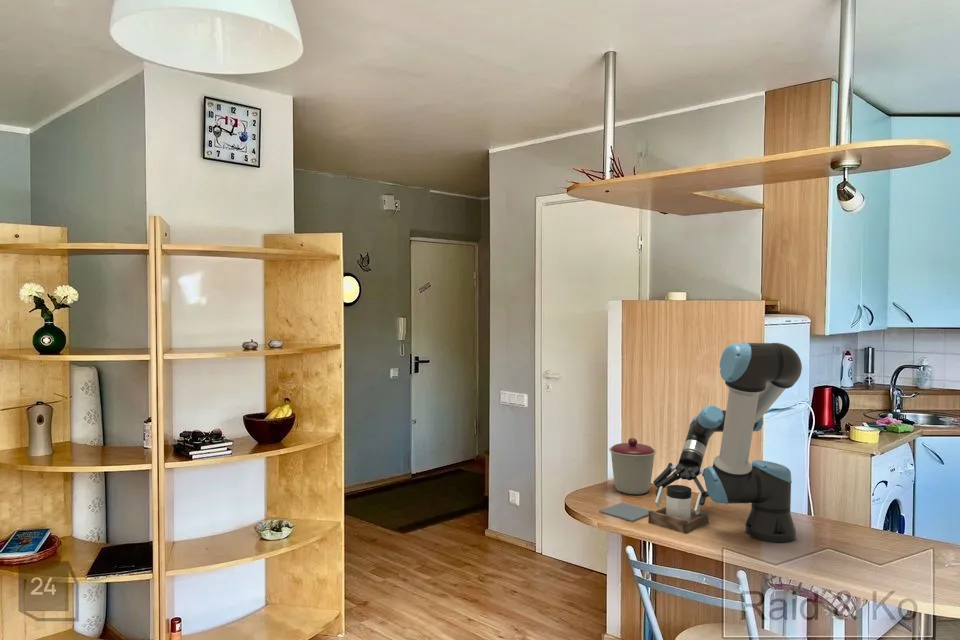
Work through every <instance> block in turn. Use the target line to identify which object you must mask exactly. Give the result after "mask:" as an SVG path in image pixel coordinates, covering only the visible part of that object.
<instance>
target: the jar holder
mask: <svg viewBox="0 0 960 640" xmlns="http://www.w3.org/2000/svg"><path fill="white" fill-rule="evenodd" d="M654 511H655V512H654ZM691 515H695V516H697V517H695V518H693V519H691V520H690V521H687V520H683V519H680V518H676V517H672V516H669V515H666V506H665V507H663V508H660V509H657V510H651V511H649V516H648V518H647V519H648V524H652V525H655V526H659V527H662V528H666V529H669V530H672V531H676V532H679V533H682V534H688V533H690V532H692V531H694V529H695V530H696V528H697V529H699V528H700V527H702V526H706V525H707V524H709V521H710V520H709V519H710V513H709V512H705V511H699V514H698V515H697V514H696V513H695V511H694V509H692V508H691Z"/></svg>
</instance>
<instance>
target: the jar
mask: <svg viewBox="0 0 960 640" xmlns="http://www.w3.org/2000/svg"><path fill="white" fill-rule="evenodd" d="M665 501H666V502H665V507H666V515H669V516H672V517H676V518H680V519H683V520H687V521H690V520H692V514H691V509H692V488H691V487H689V486H687V485H681V484H669V485H668V486H666V498H665Z"/></svg>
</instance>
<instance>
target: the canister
mask: <svg viewBox="0 0 960 640" xmlns="http://www.w3.org/2000/svg"><path fill="white" fill-rule="evenodd" d="M608 451H609V452H610V454H611V455H610V456H611V466H612V475H613V483H614V487H615V488H616V490H617V491H618V492H621V493H622V494H628V495H643V494H645V493H647V492H649V490H650V488H651V483H652V476H653V468H654V462H655V461H654V460H655V455H656V453H657V450H656V449H654V448H653V447H652V446H650V445H647V444H642V443H638V439H637V438H636V437H631V438H629V439H628V441H627V442H623V443H617V444H614V445H612V446H610V447H609V450H608Z"/></svg>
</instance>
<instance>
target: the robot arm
mask: <svg viewBox="0 0 960 640" xmlns="http://www.w3.org/2000/svg"><path fill="white" fill-rule="evenodd" d="M802 364H803V363H802V360H801V358H800V356H799V354H798V353H797V352H796V351H795V350H794V349H793V348H792V347H791V346H789V345H786V344H784V343H780V342H745V341H744V342H739V343H738V342H737V343H731V344H729V345H728V346H726V348H724V349H723V351H722V354H721V356H720V359H719V368H720V370H719V374H720V377H721V378H722V380H723V381H725V382H724V384H725V386H726V387H727V388H728V389H729V390H728V396H727V403H726V409H721V408H720V407H717V406H715V405H712V404H711V405H706V406H705V407H703V409H701V410H700V411H699V413H698V415H697V416H694V417H693V418H692V420H691V422H690V424H689V427H688V432H687V435H686V439H685V441H684V443H683V447H682V450H681V454H680V457H679V460H678V463H677V465H675V464H673V463H672V462H669V463H668V465H667V466H666V468H665V469H664V470H663V471H662V472H661V473H660V474H659V475H658V476H657V477H656V478H655V479H654V480H653V481H652V482H653V485H654V487H656V490H655V496H656V497H655V500H654V504H655V505H656V507H657V508H659V507H660V505H661V503H662V499H663V496H664V493H665V488H667V486H669V485H672V484H673V483H674V482H675V481H678V480H686V481H692V480H693V482H694V484H695V485H696V487H697V489H698V490H699V491H700V492H699V493H698V496H697V500H696V503H695V507H694V509H693V510H694V511H695V513H696V514H697V515H696V516H698V514H699V511H700V510H701V506H704V505H705V503H706V499H707V498H708V497H709V498H710V499H711V501H712V502H713V503H716V504H725V505H728V504H730V505H731V504H751V508H750V511H749V513H748V516H747V520H746V522H745V525H744V526H745V528H744V532H745V533H746V535H748V536H749V537H751V538H754V539H757V540H761V541H763V542H765V541H766V542H770V543H791V542H793V541H795V540H796V539H797V530H796V527H795V524H794V523H795V522H794V520H793V516H792V514H791V507H792V506H791V504H792V501H791V500H792V498H791V497H792V483H793V482H792V481H793V480H792V473H791V470H790V469H789V468H788V467H787V466H786V465H784V464H779V463H777V462H773V461H768V460H767V461H766V460H759V459H756V460H752V462H751V463H750V462H749V457H750V451H751V445H752V440H753V435H754V432H759V431H761V430H762V428H763V426H764V425H763V424H764V419H763V418H764V415H765V414H766V412H768V410H769V409H770V408H771V406H773V404H774V403H775V402H776V401H777V400H778V399H779V397H780V396H782V394H783V392H784V391H786V389H790V388H793V386H794V385H795V384H796V383H797V381H799V379H800V377H801V374H802V371H803V370H802V369H803V365H802ZM715 433H722V436H721V437H722V438H721V444H720V450H719V454H718V455H717V456H715V457H714V459H713V462H712V463H713V464H712V466H711V465H709V466H706V468H705V467H704V468H703V469H701V468H702V464H703V459H704V458H705V454H706V451H707V447H708V444H709V441H710V438H711V437H712V436H713V434H715ZM700 474H701V476H702V477H703V480H704V485H705V488H706V490H705V489H704V487H703V486H702V484H701V482H700V480H699V479H698V476H700ZM790 541H791V542H790Z"/></svg>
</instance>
